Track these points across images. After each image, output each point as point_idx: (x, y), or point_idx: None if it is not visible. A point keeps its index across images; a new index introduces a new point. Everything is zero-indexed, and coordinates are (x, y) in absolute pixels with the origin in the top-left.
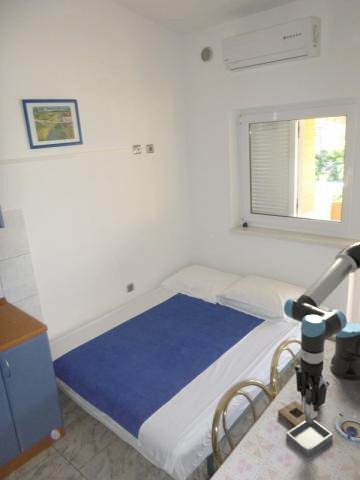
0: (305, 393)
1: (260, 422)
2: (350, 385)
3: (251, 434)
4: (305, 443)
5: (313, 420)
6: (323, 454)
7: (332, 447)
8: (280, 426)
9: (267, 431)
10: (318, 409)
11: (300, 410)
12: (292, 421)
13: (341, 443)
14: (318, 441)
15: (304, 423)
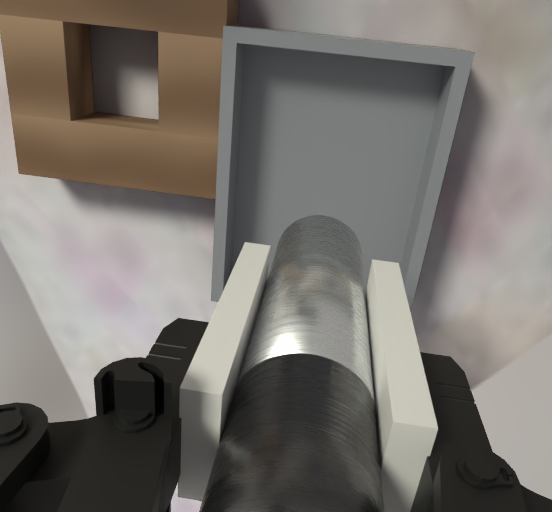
0: (164, 488)
1: (36, 288)
2: None
3: (83, 384)
4: None
5: (361, 254)
6: (468, 221)
7: (493, 120)
8: (130, 227)
9: (115, 313)
10: (461, 387)
11: (112, 21)
12: (163, 184)
13: (537, 26)
14: (393, 162)
15: (233, 125)
